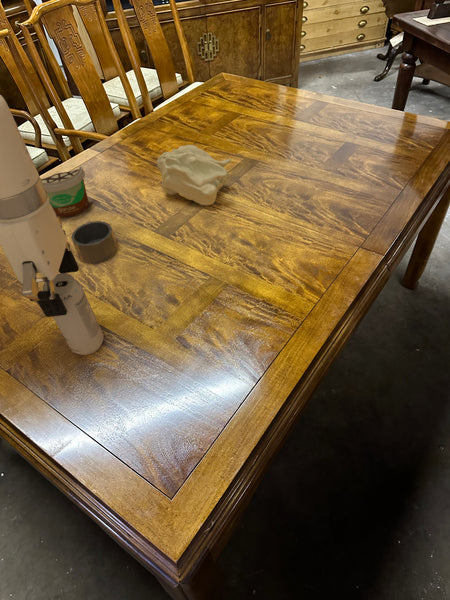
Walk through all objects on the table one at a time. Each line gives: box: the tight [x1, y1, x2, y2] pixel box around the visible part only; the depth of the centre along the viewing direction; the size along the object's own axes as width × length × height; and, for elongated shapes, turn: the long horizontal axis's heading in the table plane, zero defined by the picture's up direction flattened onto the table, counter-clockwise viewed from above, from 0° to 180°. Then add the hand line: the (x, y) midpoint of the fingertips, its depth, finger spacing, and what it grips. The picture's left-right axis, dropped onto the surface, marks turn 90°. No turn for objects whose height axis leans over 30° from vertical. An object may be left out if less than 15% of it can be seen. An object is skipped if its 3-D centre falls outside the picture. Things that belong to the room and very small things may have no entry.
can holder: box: [70, 220, 119, 264], centre depth 92 cm, size 9×9×5 cm
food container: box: [40, 166, 90, 218], centre depth 102 cm, size 12×6×10 cm, turn 114°
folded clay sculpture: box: [156, 144, 232, 207], centre depth 103 cm, size 18×13×16 cm
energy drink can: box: [42, 273, 104, 356], centre depth 70 cm, size 6×6×15 cm
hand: (63, 291), depth 65 cm, fingers open, 9 cm apart
